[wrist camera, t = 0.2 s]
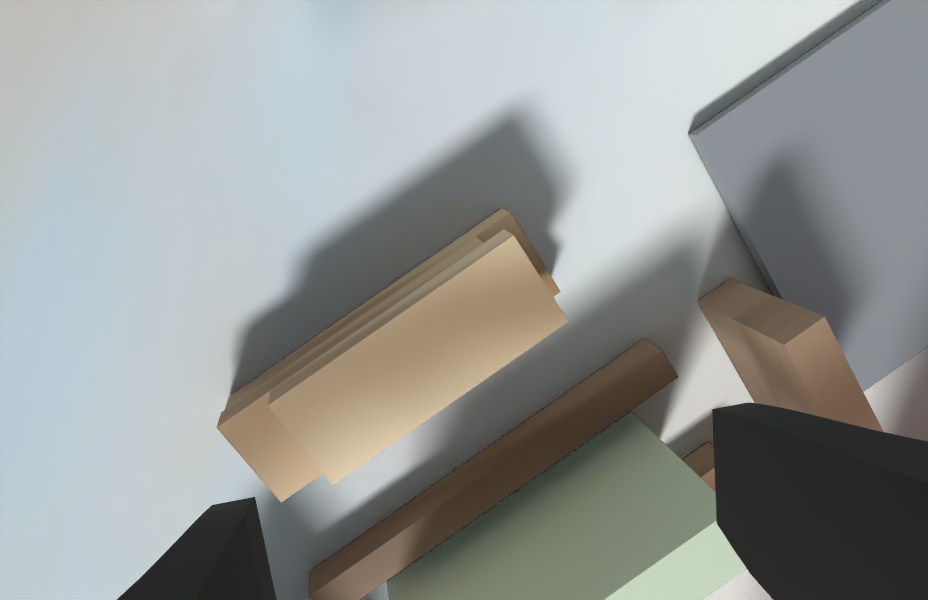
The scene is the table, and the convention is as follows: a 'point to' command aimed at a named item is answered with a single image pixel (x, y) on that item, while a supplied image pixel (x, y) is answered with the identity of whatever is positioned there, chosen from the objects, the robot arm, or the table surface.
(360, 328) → the offcut stack
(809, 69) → the slate mat
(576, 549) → the sage board
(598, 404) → the walnut rack
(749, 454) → the robot arm
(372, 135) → the table surface
